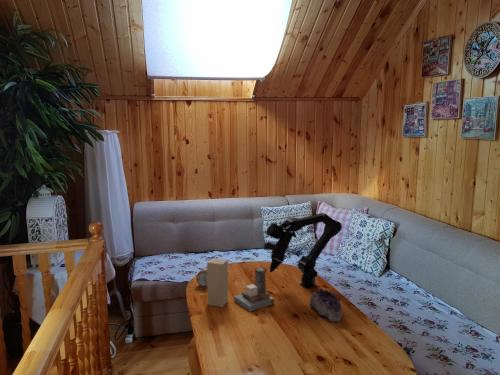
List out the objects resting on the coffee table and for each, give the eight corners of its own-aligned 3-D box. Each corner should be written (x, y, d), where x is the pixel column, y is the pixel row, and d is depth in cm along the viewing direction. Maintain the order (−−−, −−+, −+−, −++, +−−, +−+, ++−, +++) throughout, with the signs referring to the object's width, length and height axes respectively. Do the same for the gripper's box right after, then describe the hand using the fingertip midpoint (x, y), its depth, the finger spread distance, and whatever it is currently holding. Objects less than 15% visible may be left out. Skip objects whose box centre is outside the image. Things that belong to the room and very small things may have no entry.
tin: (225, 285, 215) (225, 270, 213) (224, 288, 212) (224, 272, 210) (197, 284, 216) (196, 269, 215) (195, 287, 213) (195, 271, 212)
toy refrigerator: (228, 300, 196) (228, 259, 193) (222, 307, 190) (222, 264, 186) (213, 298, 199) (212, 257, 196) (207, 304, 192) (206, 262, 189)
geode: (352, 320, 177) (351, 299, 175) (329, 328, 174) (327, 307, 171) (328, 299, 196) (327, 280, 194) (307, 306, 193) (305, 287, 190)
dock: (258, 294, 204) (258, 289, 203) (273, 303, 193) (273, 298, 193) (234, 301, 196) (234, 296, 196) (249, 311, 186) (249, 306, 185)
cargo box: (252, 291, 196) (252, 284, 195) (257, 294, 193) (257, 286, 192) (245, 293, 194) (245, 286, 193) (250, 296, 190) (250, 288, 190)
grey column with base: (259, 290, 201) (258, 265, 199) (270, 297, 194) (269, 271, 192) (242, 296, 196) (241, 270, 194) (252, 302, 188) (252, 276, 186)
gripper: (269, 234, 214) (256, 261, 214) (269, 236, 196) (255, 266, 195) (288, 243, 214) (276, 270, 213) (290, 246, 195) (276, 276, 195)
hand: (270, 270), depth 204 cm, fingers open, 9 cm apart
